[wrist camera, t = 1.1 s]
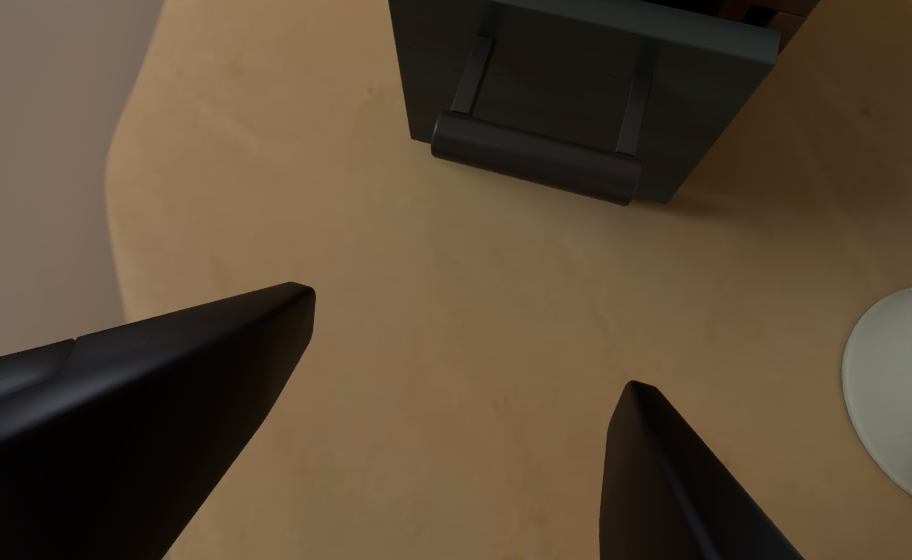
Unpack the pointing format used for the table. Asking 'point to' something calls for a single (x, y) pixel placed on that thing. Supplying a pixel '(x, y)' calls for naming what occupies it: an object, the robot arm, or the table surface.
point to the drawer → (579, 87)
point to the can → (883, 384)
